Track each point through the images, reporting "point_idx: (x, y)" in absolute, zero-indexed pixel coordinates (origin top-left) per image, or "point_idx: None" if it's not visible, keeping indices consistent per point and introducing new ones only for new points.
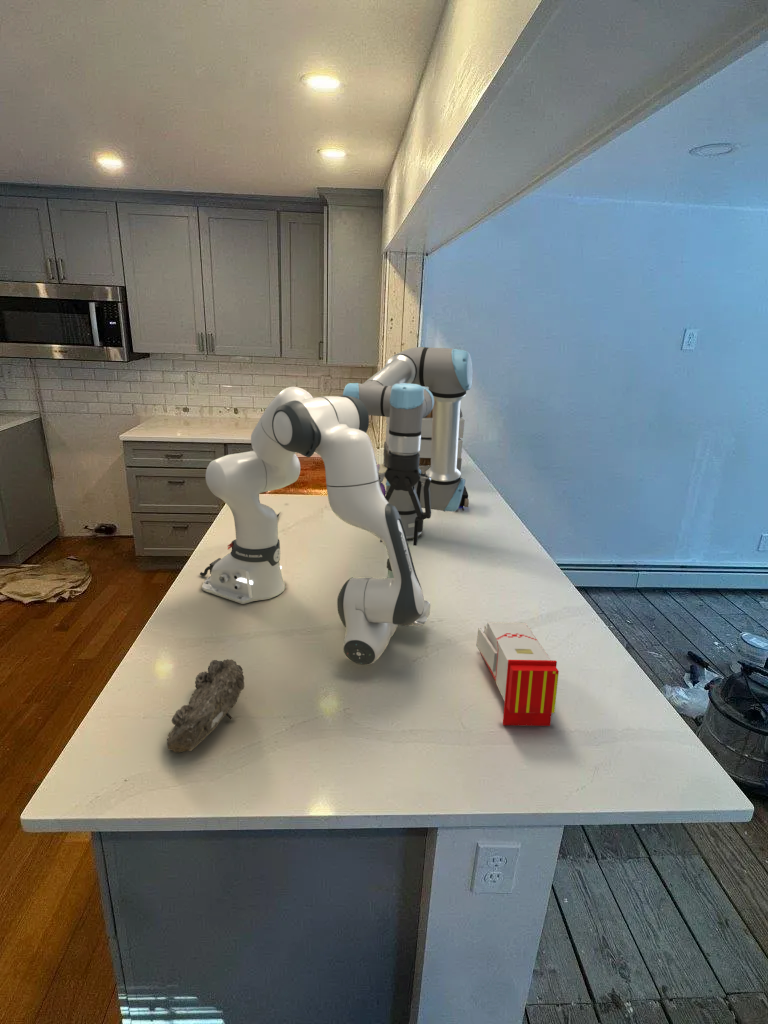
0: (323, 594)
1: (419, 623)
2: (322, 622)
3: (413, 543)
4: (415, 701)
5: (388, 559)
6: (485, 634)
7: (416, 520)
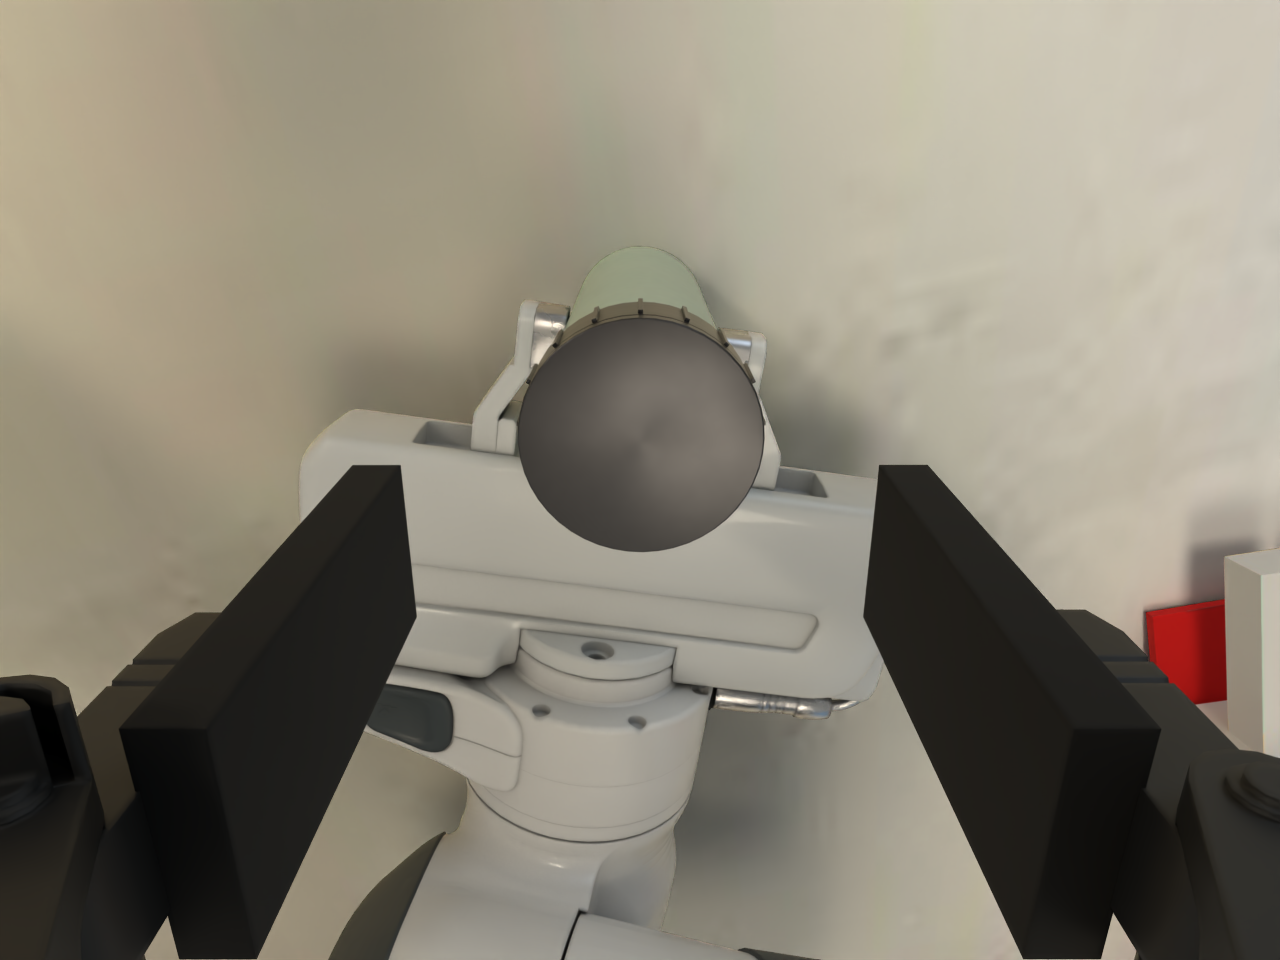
0: (56, 129)
1: (837, 710)
2: (223, 501)
3: (872, 633)
4: (808, 951)
5: (529, 439)
6: (1230, 601)
7: (1064, 944)
